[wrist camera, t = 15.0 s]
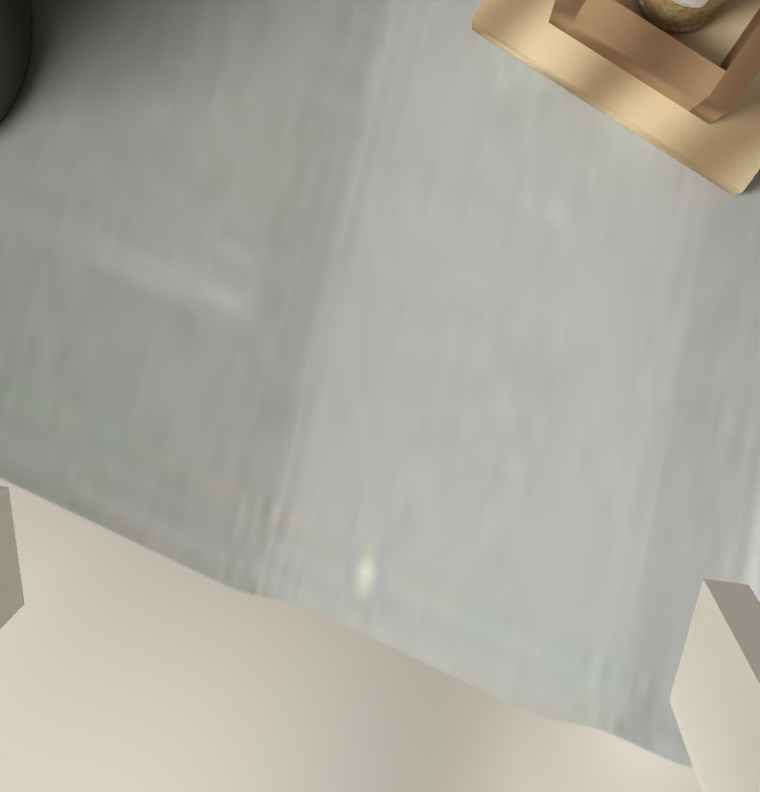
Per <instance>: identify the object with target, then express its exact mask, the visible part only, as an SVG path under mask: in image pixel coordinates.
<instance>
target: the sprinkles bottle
mask: <svg viewBox="0 0 760 792" xmlns="http://www.w3.org/2000/svg"><path fill="white" fill-rule="evenodd" d="M636 1H637V3H638V6H639V8H640V10H641V12H642V13H643V14H644V16H645V18H646V19H647V20H648V21H649V22H650V23H652V24H653V25H654V26H656V27H657V28H659V29H661V30H664V31H668V32H675V33H679V32H690V31H694V30H697V29H699V28H701V27H702V26H704V25H706V24H707V23H709V22H710V21H712V20H713V19H714V17H716V16H717V15H718V14H719V13H720V12H721V11H722V10H723V8H724V7H725V6H726V4H727V2H728V1H729V0H636Z"/></svg>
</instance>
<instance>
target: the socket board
mask: <svg viewBox="0 0 760 792" xmlns="http://www.w3.org/2000/svg"><path fill="white" fill-rule="evenodd" d="M472 30H474V31H476V32H477V33H479V34H480V35H482V36H483V37H485V38H487V39H488V40H490V41H491V42H493V43H494V44H496V45H498V46H499V47H501V48H502V49H504V50H505V51H507V52H509V53H510V54H512V55H513V56H515V57H516V58H518V59H520V60H521V61H523V62H524V63H526V64H527V65H529V66H531V67H532V68H534V69H535V70H537V71H538V72H540V73H542V74H543V75H545V76H546V77H548V78H549V79H551V80H553V81H554V82H556V83H557V84H559V85H560V86H562V87H564V88H565V89H567V90H568V91H570V92H571V93H573V94H575V95H576V96H578V97H579V98H581V99H582V100H584V101H586V102H587V103H589V104H590V105H592V106H593V107H595V108H597V109H598V110H600V111H601V112H603V113H604V114H606V115H608V116H609V117H611V118H612V119H614V120H615V121H617V122H619V123H620V124H622V125H623V126H625V127H626V128H628V129H630V130H631V131H633V132H634V133H636V134H637V135H639V136H641V137H642V138H644V139H645V140H647V141H648V142H650V143H652V144H653V145H655V146H656V147H658V148H659V149H661V150H663V151H664V152H666V153H667V154H669V155H670V156H672V157H674V158H675V159H677V160H678V161H680V162H681V163H683V164H685V165H686V166H688V167H689V168H691V169H692V170H694V171H696V172H697V173H699V174H700V175H702V176H703V177H705V178H707V179H708V180H710V181H711V182H713V183H714V184H716V185H718V186H719V187H721V188H722V189H724V190H725V191H727V192H729V193H730V194H732V195H737V194H740V193H743V191H744V190H745V188H746V187H747V186H748V184H749V183H750V182H751V180H752V179H753V177H754V176H755V175H756V173H757V172H758V171H759V169H760V0H729V1H728V2H727V4H726V6H725V7H724V8H723V10H722V11H721V12H720V13H719V14H718V15H717V16H716V17H714V19H713V20H712V21H710V22H709V23H707V24H706V25H704V26H702V27H701V28H699V29H697V30H694V31H690V32H679V33H675V32H668V31H664V30H661V29H659V28H657V27H656V26H654V25H653V24H652V23H650V22H649V21H648V20H647V19H646V18H645V16H644V14H643V13H642V12H641V10H640V8H639V6H638V3H637V1H636V0H484V2H483V3H482V5H481V7H480V8H479V10H478V12H477V13H476V15H475V17H474V19H473V20H472Z"/></svg>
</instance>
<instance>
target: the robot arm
mask: <svg viewBox="0 0 760 792" xmlns="http://www.w3.org/2000/svg"><path fill="white" fill-rule="evenodd" d="M31 35H32V20H31V8H30V1H29V0H0V120H1V119H2V118H3V117H4V115H5V114H6V113H7V111H8V110H9V108H10V107H11V105H12V103H13V101H14V100H15V98H16V96H17V94H18V92H19V89H20V87H21V84H22V82H23V79H24V76H25V73H26V69H27V65H28V60H29V55H30V47H31ZM23 605H24V597H23V590H22V583H21V575H20V568H19V560H18V553H17V546H16V538H15V531H14V525H13V516H12V510H11V502H10V494H9V488H8V487H1V486H0V628H1V627H2V626H3V625H4V624H5V623H6V622H7V621H8V620H9V619H10V618H11V617H12V616H13V615H14V614H15V613H16V612H17V611H18V610H19V609H20V608H21V607H22V606H23ZM669 701H670V703H671V706H672V709H673V712H674V715H675V717H676V720H677V723H678V726H679V729H680V732H681V734H682V737H683V740H684V743H685V746H686V748H687V751H688V754H689V757H690V760H691V762H692V765H693V768H694V771H695V773H696V777H697V779H698V782H699V785H700V788H701V790H702V792H760V602H759V601H758V599H757V598H756V596H755V594H754V593H753V591H752V590H751V588H750V586H749V585H745V584H737V583H730V582H722V581H715V580H707V579H704V580H703V583H702V587H701V590H700V594H699V597H698V601H697V604H696V608H695V611H694V615H693V618H692V622H691V625H690V629H689V632H688V636H687V639H686V643H685V646H684V650H683V653H682V657H681V660H680V664H679V667H678V671H677V674H676V678H675V681H674V685H673V688H672V692H671V695H670V699H669Z"/></svg>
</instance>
